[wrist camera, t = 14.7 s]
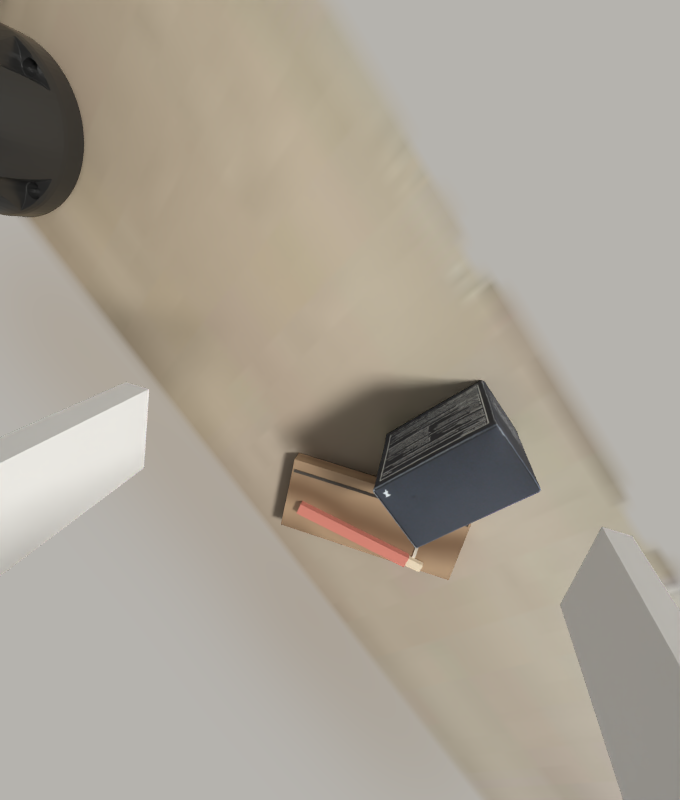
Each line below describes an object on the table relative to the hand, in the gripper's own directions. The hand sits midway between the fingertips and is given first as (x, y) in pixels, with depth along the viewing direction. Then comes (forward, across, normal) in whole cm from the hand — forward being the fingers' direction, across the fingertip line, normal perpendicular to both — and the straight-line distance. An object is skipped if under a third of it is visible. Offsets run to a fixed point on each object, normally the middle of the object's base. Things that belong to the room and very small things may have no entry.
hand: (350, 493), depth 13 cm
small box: (+29, +6, -9) cm, 31 cm away
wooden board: (+29, +2, -20) cm, 35 cm away
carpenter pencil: (+27, 0, -22) cm, 35 cm away
